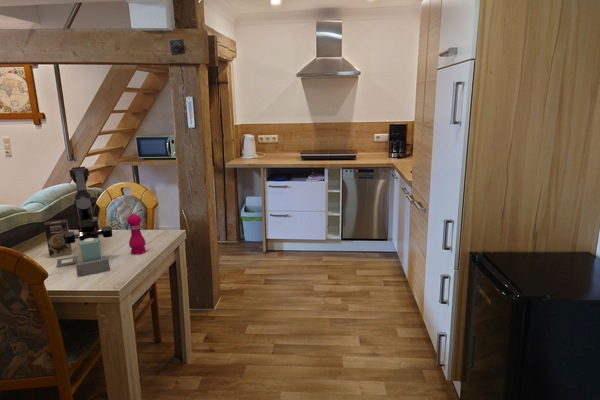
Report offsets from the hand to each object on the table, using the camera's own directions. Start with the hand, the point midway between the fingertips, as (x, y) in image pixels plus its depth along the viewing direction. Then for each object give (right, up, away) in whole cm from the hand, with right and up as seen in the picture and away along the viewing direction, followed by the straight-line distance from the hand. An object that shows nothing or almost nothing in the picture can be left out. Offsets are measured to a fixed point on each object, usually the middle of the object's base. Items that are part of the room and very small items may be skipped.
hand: (91, 251), depth 169 cm
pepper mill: (+14, -3, +16) cm, 22 cm away
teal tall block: (+2, -7, -1) cm, 7 cm away
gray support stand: (+2, -7, -2) cm, 8 cm away
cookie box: (-23, -4, +17) cm, 29 cm away
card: (-14, -6, +7) cm, 17 cm away
